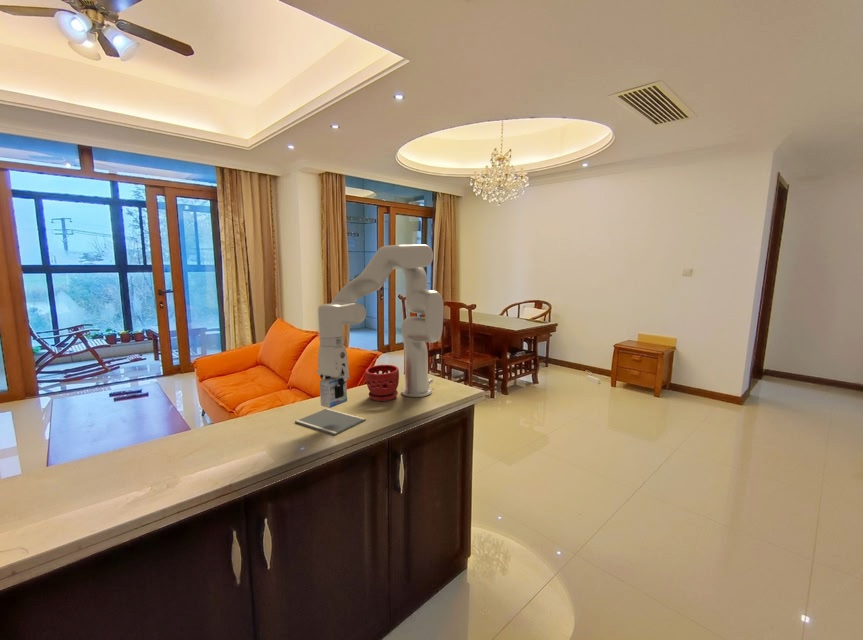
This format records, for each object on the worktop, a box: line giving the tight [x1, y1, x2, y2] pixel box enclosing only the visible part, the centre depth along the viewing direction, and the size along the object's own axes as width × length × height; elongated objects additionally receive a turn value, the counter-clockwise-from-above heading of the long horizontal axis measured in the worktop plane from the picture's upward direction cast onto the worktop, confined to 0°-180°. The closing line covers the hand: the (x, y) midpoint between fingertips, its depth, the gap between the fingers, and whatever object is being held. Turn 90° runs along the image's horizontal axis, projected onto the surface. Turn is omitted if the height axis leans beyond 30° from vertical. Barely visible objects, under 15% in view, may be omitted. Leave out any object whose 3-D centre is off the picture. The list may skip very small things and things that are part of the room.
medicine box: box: [319, 377, 348, 409], centre depth 129 cm, size 8×4×9 cm, turn 146°
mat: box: [294, 407, 366, 436], centre depth 132 cm, size 14×19×1 cm
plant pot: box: [365, 364, 400, 402], centre depth 154 cm, size 13×13×12 cm
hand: (333, 395), depth 129 cm, fingers closed on medicine box, 4 cm apart
